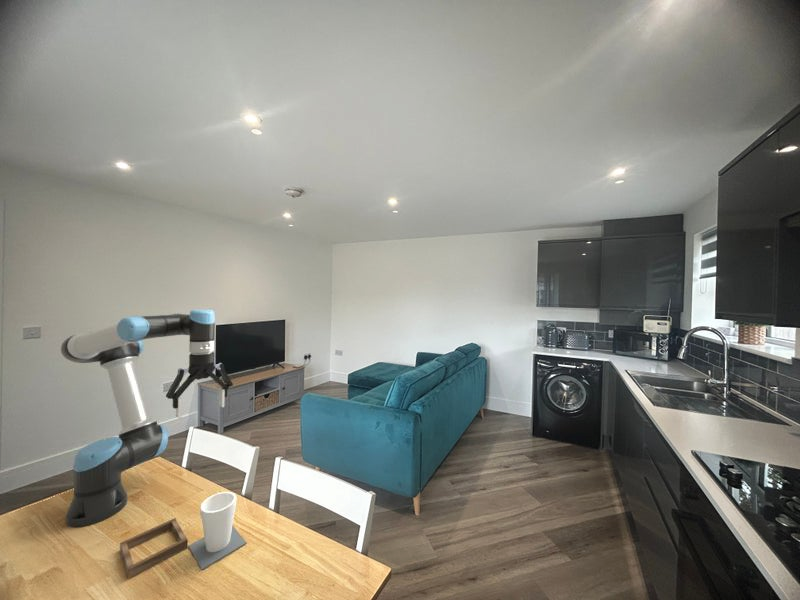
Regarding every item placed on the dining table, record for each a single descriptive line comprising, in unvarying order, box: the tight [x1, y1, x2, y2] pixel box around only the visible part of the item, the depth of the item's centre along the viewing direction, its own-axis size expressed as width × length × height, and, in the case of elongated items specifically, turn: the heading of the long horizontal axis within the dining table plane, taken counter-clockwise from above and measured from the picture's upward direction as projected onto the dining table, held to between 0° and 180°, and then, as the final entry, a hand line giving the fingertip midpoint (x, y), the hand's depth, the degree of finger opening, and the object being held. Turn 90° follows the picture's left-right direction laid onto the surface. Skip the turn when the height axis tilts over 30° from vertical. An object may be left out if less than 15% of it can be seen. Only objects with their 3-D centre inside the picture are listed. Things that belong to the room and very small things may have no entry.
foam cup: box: [199, 491, 237, 552], centre depth 92 cm, size 10×9×13 cm
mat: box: [188, 525, 247, 571], centre depth 92 cm, size 12×12×1 cm
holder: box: [119, 517, 189, 580], centre depth 90 cm, size 13×13×2 cm
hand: (201, 411), depth 108 cm, fingers open, 13 cm apart
